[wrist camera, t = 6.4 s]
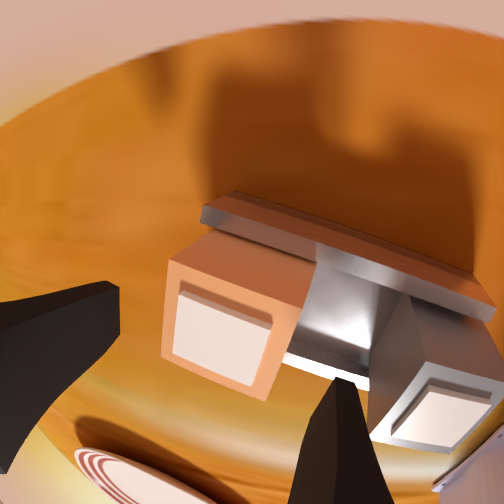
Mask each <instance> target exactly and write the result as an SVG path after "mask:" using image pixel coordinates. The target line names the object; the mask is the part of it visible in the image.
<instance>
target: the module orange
mask: <svg viewBox="0 0 504 504" xmlns="http://www.w3.org/2000/svg"><path fill="white" fill-rule="evenodd" d="M317 263H318V262H315V261H312V260H309V259H306V258H303V257H300V256H297V255H294V254H291V253H289V252H286V251H283V250H280V249H277V248H274V247H271V246H268V245H265V244H262V243H259V242H256V241H253V240H250V239H247V238H245V237H242V236H239V235H236V234H233V233H230V232H227V231H224V230H221V229H218V228H215V229H213V230H212V231H210V232H209V233H207V234H206V235H204V236H203V237H201V238H200V239H198V240H197V241H195V242H194V243H192V244H191V245H189V246H188V247H186V248H185V249H183V250H182V251H181V252H179V253H178V254H176V255H175V256H173V257H172V258H170V259H169V264H168V273H167V283H166V293H165V304H164V317H163V330H162V345H161V357H162V358H164V359H166V360H168V361H170V362H172V363H174V364H177V365H179V366H181V367H183V368H185V369H187V370H189V371H192V372H194V373H196V374H198V375H200V376H203V377H205V378H207V379H209V380H212V381H214V382H216V383H219V384H221V385H224V386H226V387H228V388H231V389H233V390H236V391H238V392H241V393H243V394H246V395H249V396H251V397H254V398H256V399H259V400H262V401H264V402H265V401H266V398H267V396H268V394H269V391H270V389H271V387H272V384H273V382H274V380H275V377H276V375H277V372H278V370H279V368H280V365H281V363H282V360H283V358H284V355H285V353H286V350H287V348H288V345H289V343H290V340H291V338H292V335H293V332H294V330H295V327H296V325H297V322H298V319H299V317H300V314H301V311H302V309H303V306H304V303H305V300H306V297H307V294H308V291H309V288H310V285H311V282H312V278H313V275H314V272H315V269H316V266H317Z"/></svg>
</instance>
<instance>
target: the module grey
mask: <svg viewBox="0 0 504 504" xmlns="http://www.w3.org/2000/svg"><path fill="white" fill-rule="evenodd" d="M503 398H504V362H503V360H502V358H501V356H500V354H499V351H498V349H497V348H496V346H495V344H494V342H493V340H492V338H491V336H490V334H489V332H488V330H487V328H486V327H485V325H484V323H483V321H481V320H478V319H475V318H473V317H470V316H467V315H464V314H462V313H459V312H456V311H453V310H451V309H448V308H445V307H442V306H440V305H437V304H434V303H431V302H428V301H426V300H423V299H420V298H417V297H414V296H412V295H409V294H406V293H403V294H402V296H401V298H400V300H399V302H398V304H397V306H396V308H395V310H394V312H393V314H392V316H391V318H390V320H389V322H388V324H387V326H386V328H385V329H384V331H383V333H382V335H381V337H380V339H379V340H378V342H377V344H376V346H375V347H374V349H373V351H372V353H371V354H370V356H369V391H368V413H367V428H368V432H369V435H370V438H371V440H372V441H377V442H381V443H386V444H391V445H396V446H401V447H406V448H412V449H417V450H424V451H430V452H437V453H444V454H450V453H451V452H452V451H454V450H455V449H456V448H457V447H458V446H459V445H460V444H461V443H462V442H463V441H464V440H465V439H466V438H467V437H468V436H469V435H470V434H471V433H472V432H473V431H474V430H475V429H476V428H477V427H478V426H479V425H480V424H481V423H482V422H483V421H484V420H485V419H486V417H487V416H488V415H489V414H490V413H491V412H492V411H493V410H494V408H495V407H496V406H497V405H498V404H499V403H500V402H501V400H502V399H503Z"/></svg>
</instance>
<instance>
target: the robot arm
mask: <svg viewBox="0 0 504 504" xmlns="http://www.w3.org/2000/svg"><path fill="white" fill-rule="evenodd" d="M119 335H120V307H119V287H118V286H116V285H114V284H112V283H110V282H108V281H100V282H95V283H90V284H86V285H82V286H77V287H73V288H69V289H65V290H61V291H57V292H53V293H49V294H45V295H40V296H35V297H30V298H25V299H21V300H15V301H8V302H1V303H0V474H7V472H8V470H9V468H10V466H11V464H12V462H13V460H14V458H15V456H16V454H17V452H18V451H19V449H20V447H21V446H22V444H23V443H24V441H25V439H26V438H27V436H28V435H29V433H30V431H31V430H32V429H33V428H34V426H35V425H36V424H37V422H38V421H39V420H40V418H41V417H42V416H43V414H44V413H45V412H46V411H47V409H48V408H49V407H50V406H51V405H52V403H53V402H54V401H55V400H56V399H57V398H58V397H59V396H60V395H61V394H62V393H63V392H64V391H65V390H66V389H67V388H68V387H69V386H70V385H71V384H72V383H73V382H74V381H76V380H77V379H78V378H79V377H80V376H81V375H82V374H83V373H84V372H85V371H86V370H88V369H89V368H90V367H91V366H92V365H93V364H94V363H95V362H96V361H97V360H98V359H99V358H100V357H101V356H103V355H104V353H105V352H106V351H107V350H108V349H109V347H110V346H111V345H112V344H113V343H114V341H115V340H116V339H117V337H118V336H119ZM432 491H433V492H439V504H504V425H502V426H501V427H500V428H499V429H498V430H497V431H496V432H495V433H494V434H493V435H492V436H491V437H490V438H489V439H488V440H487V441H486V442H485V443H484V444H483V445H481V446H480V447H479V448H478V449H477V450H476V451H475V452H474V453H473V454H472V455H471V456H469V457H468V458H467V459H466V460H465V461H464V462H463V463H461V464H460V465H459V466H458V467H457V468H455V469H454V470H453V471H452V472H451V473H449V474H448V475H447V476H446V477H444V478H443V479H442V480H440V481H439V482H438V483H436V484H435V485H434V486H433V487H432ZM0 504H3V503H2V502H1V501H0ZM288 504H395V503H394V501H393V499H392V497H391V494H390V492H389V490H388V487H387V485H386V482H385V480H384V477H383V474H382V472H381V469H380V466H379V463H378V460H377V457H376V454H375V451H374V448H373V445H372V441H371V438H370V435H369V432H368V428H367V425H366V421H365V417H364V414H363V410H362V406H361V402H360V398H359V394H358V390H357V386H356V383H355V382H353V381H350V380H347V379H344V378H341V377H337V376H335V378H334V379H333V381H332V383H331V385H330V386H329V388H328V390H327V391H326V393H325V395H324V396H323V398H322V400H321V401H320V403H319V405H318V406H317V408H316V409H315V411H314V413H313V414H312V416H311V418H310V421H309V424H308V427H307V430H306V433H305V436H304V439H303V442H302V445H301V449H300V453H299V458H298V462H297V467H296V471H295V475H294V480H293V484H292V488H291V492H290V496H289V500H288Z"/></svg>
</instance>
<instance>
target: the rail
mask: <svg viewBox="0 0 504 504" xmlns="http://www.w3.org/2000/svg"><path fill="white" fill-rule="evenodd" d="M200 223H203V224H206V225H209V226H212V227H215V228H218V229H221V230H224V231H227V232H230V233H233V234H236V235H239V236H242V237H245V238H247V239H250V240H253V241H256V242H259V243H262V244H265V245H268V246H271V247H274V248H277V249H280V250H283V251H286V252H289V253H291V254H294V255H297V256H300V257H303V258H306V259H309V260H312V261H315V262H318V263H317V266H316V269H315V272H314V275H313V278H312V282H311V285H310V288H309V291H308V294H307V297H306V300H305V303H304V306H303V309H302V311H301V314H300V317H299V319H298V322H297V325H296V327H295V330H294V332H293V335H292V338H291V340H290V343H289V345H288V348H287V350H286V353H285V355H284V358H283V360H282V363H285V364H288V365H291V366H293V367H296V368H299V369H302V370H305V371H308V372H311V373H314V374H317V375H320V376H323V377H326V378H329V379H332V380H333V379H334V378H335V376H337V377H341V378H344V379H347V380H350V381H353V382H355V383H356V386H357V387H358V388H362V389H365V390H369V356H370V354H371V353H372V351H373V349H374V347H375V346H376V344H377V342H378V340H379V339H380V337H381V335H382V333H383V331H384V329H385V328H386V326H387V324H388V322H389V320H390V318H391V316H392V314H393V312H394V310H395V308H396V306H397V304H398V302H399V300H400V298H401V296H402V294H403V293H406V294H409V295H412V296H414V297H417V298H420V299H423V300H426V301H428V302H431V303H434V304H437V305H440V306H442V307H445V308H448V309H451V310H453V311H456V312H459V313H462V314H464V315H467V316H470V317H473V318H475V319H478V320H481V321H484V322H486V323H489V322H490V320H491V319H492V317H493V315H494V313H495V312H496V310H497V307H496V306H495V304H494V303H493V301H492V300H491V299H490V297H489V296H488V294H487V293H486V292H485V290H484V289H483V287H482V286H481V285H480V283H479V282H478V281H477V279H476V278H475V277H474V275H472V274H469V273H467V272H465V271H462V270H460V269H457V268H455V267H452V266H450V265H447V264H445V263H442V262H440V261H437V260H435V259H432V258H430V257H427V256H425V255H422V254H420V253H417V252H414V251H412V250H409V249H406V248H404V247H401V246H398V245H396V244H393V243H390V242H388V241H385V240H382V239H379V238H377V237H374V236H371V235H368V234H366V233H363V232H360V231H357V230H354V229H351V228H349V227H346V226H343V225H340V224H337V223H334V222H331V221H328V220H325V219H322V218H319V217H316V216H313V215H310V214H307V213H304V212H301V211H298V210H295V209H292V208H289V207H285V206H282V205H279V204H276V203H273V202H270V201H266V200H263V199H260V198H257V197H253V196H250V195H247V194H243V193H240V192H237V191H233V192H231V193H228V194H226V195H224V196H222V197H219V198H217V199H215V200H213V201H211V202H208V203H206V204H204V205H203V209H202V214H201V220H200Z"/></svg>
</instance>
